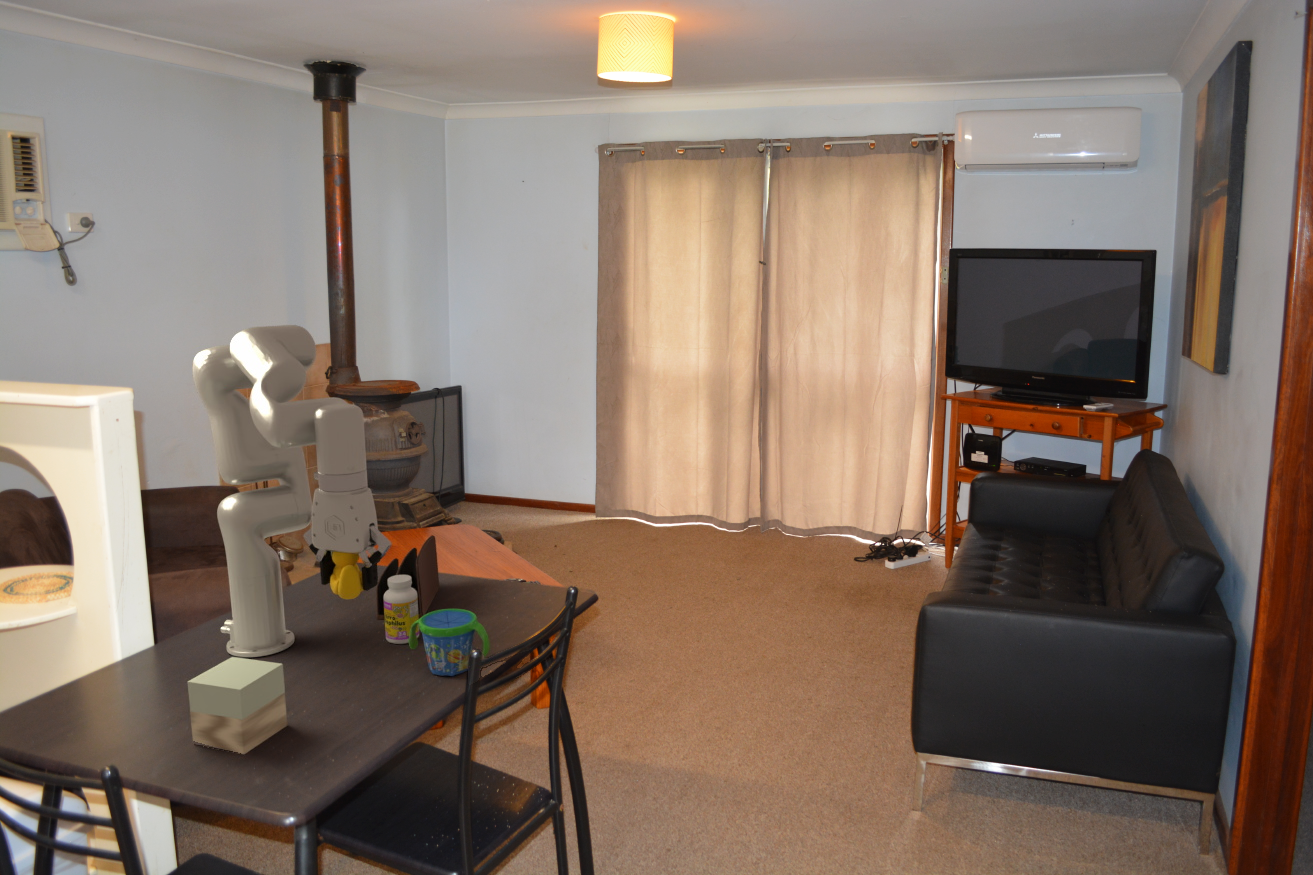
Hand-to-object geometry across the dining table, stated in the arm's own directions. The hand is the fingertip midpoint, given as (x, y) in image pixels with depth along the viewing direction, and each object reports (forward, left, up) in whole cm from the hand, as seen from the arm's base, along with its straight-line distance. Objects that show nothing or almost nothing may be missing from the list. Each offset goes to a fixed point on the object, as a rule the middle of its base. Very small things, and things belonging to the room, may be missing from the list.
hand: (349, 584), depth 160 cm
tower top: (-14, -12, -17) cm, 25 cm away
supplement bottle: (-12, +31, -23) cm, 40 cm away
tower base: (-14, -12, -23) cm, 30 cm away
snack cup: (+5, +21, -23) cm, 32 cm away
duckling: (0, 0, -2) cm, 2 cm away
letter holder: (-22, +49, -24) cm, 59 cm away
